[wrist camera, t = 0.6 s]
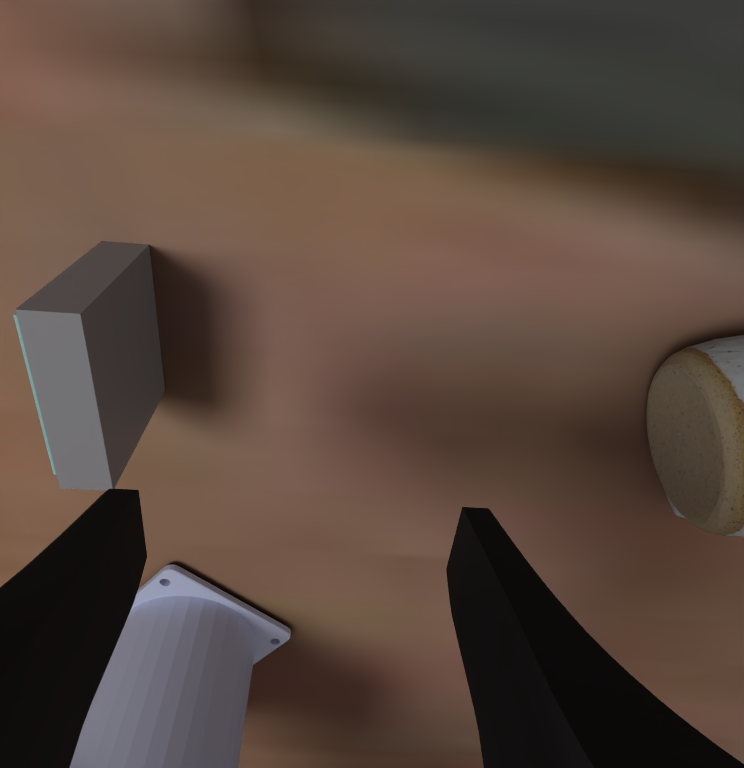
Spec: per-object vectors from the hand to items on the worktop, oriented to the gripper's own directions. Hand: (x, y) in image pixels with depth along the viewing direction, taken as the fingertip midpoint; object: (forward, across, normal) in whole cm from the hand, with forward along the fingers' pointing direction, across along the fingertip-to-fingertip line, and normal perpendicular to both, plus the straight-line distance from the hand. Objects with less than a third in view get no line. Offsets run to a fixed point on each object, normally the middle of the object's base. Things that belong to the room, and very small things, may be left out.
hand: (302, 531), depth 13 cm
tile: (+10, +7, 0) cm, 12 cm away
